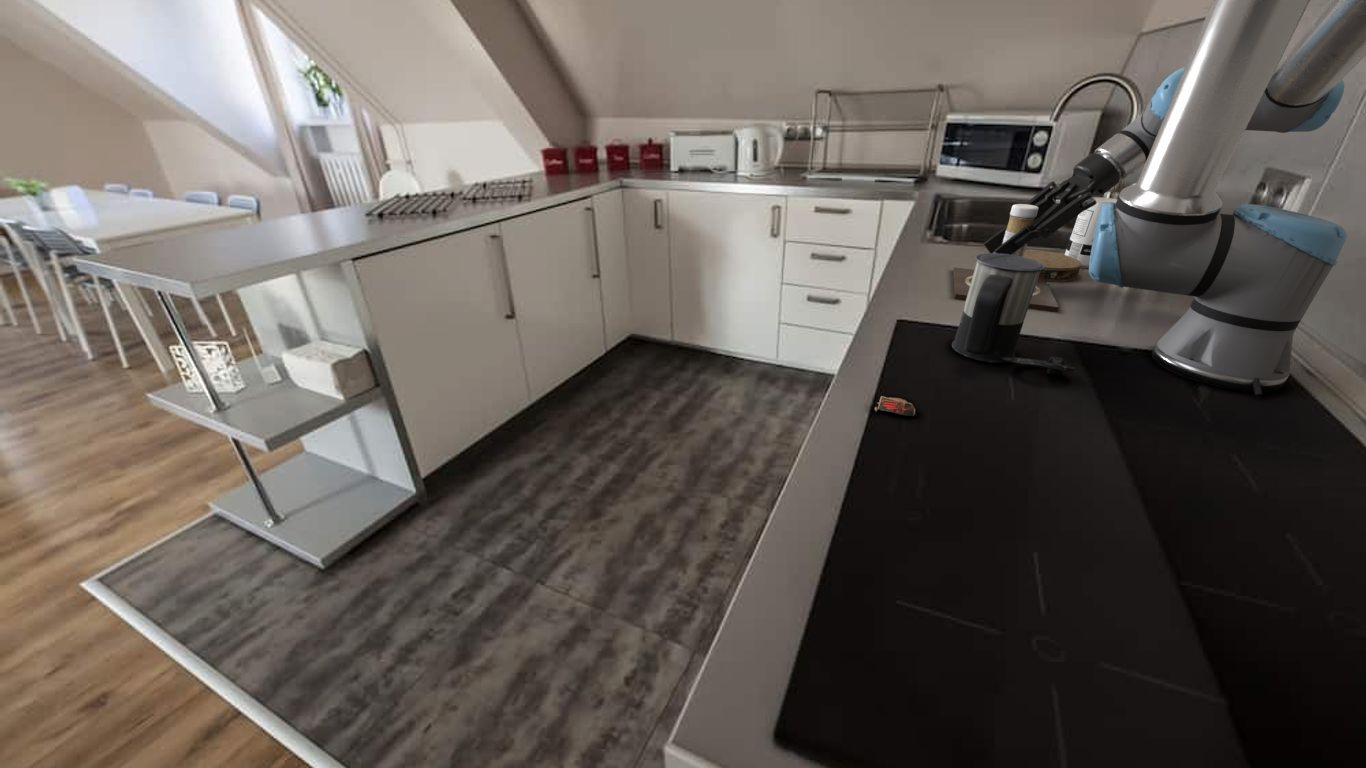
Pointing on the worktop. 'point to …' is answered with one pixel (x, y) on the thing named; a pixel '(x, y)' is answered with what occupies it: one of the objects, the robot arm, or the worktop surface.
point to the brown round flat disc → (1055, 265)
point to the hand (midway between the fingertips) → (992, 251)
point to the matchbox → (896, 406)
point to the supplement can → (1085, 232)
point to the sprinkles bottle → (1020, 222)
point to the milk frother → (1000, 311)
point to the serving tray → (1039, 300)
